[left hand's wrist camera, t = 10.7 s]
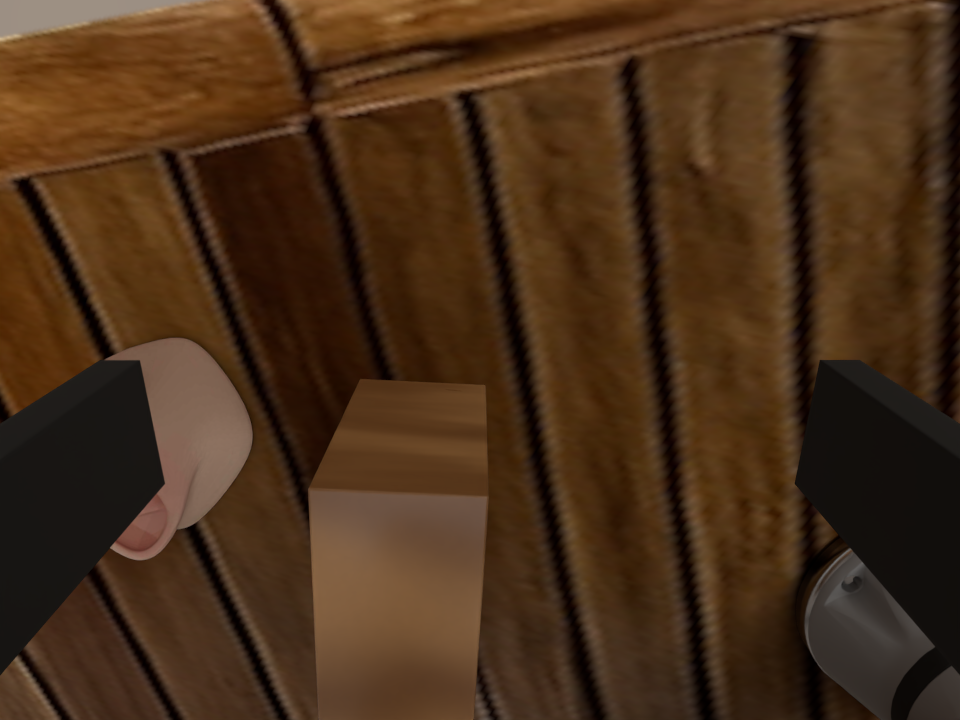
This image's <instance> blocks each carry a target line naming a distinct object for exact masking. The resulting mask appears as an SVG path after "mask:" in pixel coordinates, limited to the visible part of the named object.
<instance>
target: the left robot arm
mask: <svg viewBox="0 0 960 720" xmlns="http://www.w3.org/2000/svg"><path fill="white" fill-rule="evenodd" d="M164 485H165V480H164V475H163V470H162V466H161V461H160V456H159V451H158V446H157V441H156V436H155V431H154V426H153V421H152V417H151V412H150V407H149V402H148V397H147V392H146V387H145V382H144V377H143V372H142V368H141V363H140V360H100V361H98V362H97V363H95V364H93V365H92V366H90V367H89V368H87V369H86V370H84V371H82V372H81V373H79V374H78V375H76V376H75V377H73V378H72V379H70V380H68V381H67V382H65V383H64V384H62V385H61V386H59V387H57V388H56V389H54V390H53V391H51V392H50V393H48V394H46V395H45V396H43V397H42V398H40V399H39V400H37V401H35V402H34V403H32V404H31V405H29V406H28V407H26V408H24V409H23V410H21V411H20V412H18V413H17V414H15V415H13V416H12V417H10V418H9V419H7V420H6V421H4V422H2V423H1V424H0V675H1V674H2V673H3V671H4V670H5V669H6V668H7V667H8V666H9V664H10V663H11V662H12V661H13V660H14V659H15V657H16V656H17V655H18V654H19V653H20V652H21V651H22V649H23V648H24V647H25V646H26V645H27V644H28V642H29V641H30V640H31V639H32V638H33V637H34V635H35V634H36V633H37V632H38V631H39V630H40V628H41V627H42V626H43V625H44V624H45V623H46V622H47V620H48V619H49V618H50V617H51V616H52V615H53V613H54V612H55V611H56V610H57V609H58V608H59V606H60V605H61V604H62V603H63V602H64V601H65V599H66V598H67V597H68V596H69V595H70V594H71V592H72V591H73V590H74V589H75V588H76V587H77V586H78V584H79V583H80V582H81V581H82V580H83V579H84V577H85V576H86V575H87V574H88V573H89V572H90V570H91V569H92V568H93V567H94V566H95V565H96V563H97V562H98V561H99V560H100V559H101V558H102V557H103V555H104V554H105V553H106V552H107V551H108V550H109V548H110V547H111V546H112V545H113V544H114V543H115V541H116V540H117V539H118V538H119V537H120V536H121V534H122V533H123V532H124V531H125V530H126V529H127V528H128V526H129V525H130V524H131V523H132V522H133V521H134V519H135V518H136V517H137V516H138V515H139V514H140V512H141V511H142V510H143V509H144V508H145V507H146V505H147V504H148V503H149V502H150V501H151V500H152V498H153V497H154V496H155V495H156V494H157V493H158V492H159V490H160V489H161V488H162V487H163V486H164ZM795 485H796V486H797V487H798V488H799V489H800V490H801V492H802V493H803V494H804V495H805V496H806V497H807V498H808V500H809V501H810V502H811V503H812V504H813V505H814V507H815V508H816V509H817V510H818V511H819V512H820V514H821V515H822V516H823V517H824V518H825V519H826V521H827V522H828V523H829V524H830V525H831V526H832V528H833V529H834V530H835V531H836V532H837V533H838V534H839V536H840V538H839V539H837V540H836V541H835V542H834V543H833V544H831V545H830V546H829V547H828V548H827V549H826V550H825V551H824V552H823V553H822V554H821V555H820V556H819V557H818V559H817V560H816V561H815V562H814V563H813V565H812V566H811V568H810V569H809V571H808V572H807V574H806V576H805V578H804V580H803V582H802V584H801V586H800V589H799V592H798V596H797V601H796V611H795V612H796V623H797V627H798V631H799V634H800V636H801V638H802V640H803V642H804V643H805V645H806V647H807V648H808V650H809V651H810V653H811V655H812V656H813V658H814V660H815V661H816V663H817V664H818V666H819V667H820V668H821V669H822V670H823V672H824V673H826V674H827V675H828V676H829V677H830V678H831V679H833V680H834V681H835V682H836V683H838V684H839V685H840V686H841V687H843V688H844V689H845V690H846V691H847V692H848V693H850V694H851V695H852V696H853V697H854V698H855V699H857V700H858V701H859V702H860V703H861V704H863V705H864V706H865V707H866V708H868V709H869V710H870V711H871V712H872V713H874V714H875V715H876V716H877V717H878V718H880V719H881V720H960V424H959V423H958V422H956V421H954V420H953V419H951V418H950V417H948V416H947V415H945V414H943V413H942V412H940V411H939V410H937V409H936V408H934V407H932V406H931V405H929V404H928V403H926V402H925V401H923V400H921V399H920V398H918V397H917V396H915V395H914V394H912V393H910V392H909V391H907V390H906V389H904V388H903V387H901V386H899V385H898V384H896V383H895V382H893V381H892V380H890V379H888V378H887V377H885V376H884V375H882V374H881V373H879V372H878V371H876V370H874V369H873V368H871V367H870V366H868V365H867V364H865V363H863V362H862V361H860V360H820V363H819V368H818V372H817V377H816V382H815V387H814V392H813V397H812V402H811V407H810V412H809V417H808V421H807V426H806V431H805V436H804V441H803V446H802V451H801V456H800V461H799V466H798V470H797V475H796V480H795Z"/></svg>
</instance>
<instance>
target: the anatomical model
mask: <svg viewBox="0 0 960 720" xmlns="http://www.w3.org/2000/svg"><path fill="white" fill-rule="evenodd" d="M105 360H140V363H141V368H142V372H143V377H144V382H145V387H146V392H147V397H148V402H149V407H150V412H151V417H152V421H153V426H154V431H155V436H156V441H157V446H158V451H159V456H160V461H161V466H162V470H163V475H164V480H165V485H164V486H163V487H162V488H161V489H160V490H159V492H158V493H157V494H156V495H155V496H154V497H153V498H152V500H151V501H150V502H149V503H148V504H147V505H146V507H145V508H144V509H143V510H142V511H141V512H140V514H139V515H138V516H137V517H136V518H135V519H134V521H133V522H132V523H131V524H130V525H129V526H128V528H127V529H126V530H125V531H124V532H123V533H122V534H121V536H120V537H119V538H118V539H117V540H116V541H115V543H114V544H113V545H112V546H111V547H110V548H111V549H113V550H114V551H116V552H118V553H119V554H121V555H123V556H125V557H128V558H131V559H134V560H146V559H150V558H152V557H154V556H155V555H157V554H158V553H160V552H161V551H162V550H163V549H164V548H165V546H166V545H167V544H168V543H169V541H170V540H171V538H172V537H173V535H174V533H175V531H176V530H177V529H182V528H186V527H189V526H191V525H193V524H194V523H196V522H197V521H199V520H200V519H201V518H202V517H203V516H205V515H206V513H207V512H208V511H209V510H210V509H211V508H212V507H213V506H214V505H215V504H216V503H217V502H218V501H219V499H220V498H221V497H222V496H223V494H224V493H225V492H226V491H227V489H228V488H229V487H230V485H231V484H232V482H233V481H234V480H235V478H236V477H237V475H238V474H239V472H240V471H241V469H242V467H243V465H244V463H245V461H246V460H247V458H248V455H249V453H250V450H251V446H252V440H253V432H252V425H251V421H250V418H249V415H248V413H247V410H246V408H245V405H244V403H243V401H242V399H241V398H240V396H239V394H238V392H237V391H236V389H235V387H234V386H233V384H232V383H231V381H230V380H229V378H228V377H227V376H226V374H225V373H224V372H223V370H222V369H221V368H220V366H219V365H218V364H217V363H216V361H215V360H214V359H213V358H212V357H211V356H210V355H209V354H208V353H207V352H206V351H205V350H204V349H203V348H202V347H201V346H199V345H198V344H196V343H195V342H193V341H191V340H188V339H184V338H168V339H161V340H156V341H153V342H149V343H145V344H141V345H138V346H134V347H131V348H128V349H126V350H124V351H121V352H119V353H117V354H115V355H113V356H111V357H109V358H107V359H105Z"/></svg>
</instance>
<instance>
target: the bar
mask: <svg viewBox="0 0 960 720" xmlns="http://www.w3.org/2000/svg"><path fill="white" fill-rule="evenodd" d="M308 498H309V521H310V543H311V566H312V588H313V611H314V634H315V656H316V679H317V701H318V720H474V710H475V695H476V680H477V666H478V651H479V636H480V622H481V607H482V592H483V578H484V563H485V548H486V533H487V519H488V504H489V483H488V450H487V416H486V387H485V385H472V384H452V383H431V382H411V381H391V380H370V379H360V380H359V383H358V385H357V387H356V389H355V391H354V393H353V395H352V397H351V400H350V402H349V404H348V406H347V408H346V410H345V412H344V414H343V416H342V419H341V421H340V423H339V425H338V427H337V429H336V431H335V433H334V436H333V438H332V440H331V442H330V444H329V446H328V448H327V450H326V453H325V455H324V457H323V459H322V461H321V463H320V465H319V467H318V470H317V472H316V474H315V476H314V478H313V480H312V482H311V484H310V487H309V489H308Z"/></svg>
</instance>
